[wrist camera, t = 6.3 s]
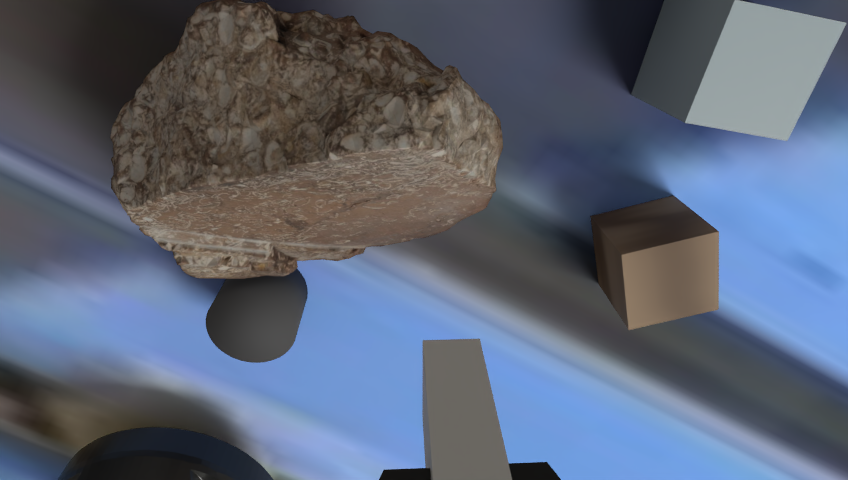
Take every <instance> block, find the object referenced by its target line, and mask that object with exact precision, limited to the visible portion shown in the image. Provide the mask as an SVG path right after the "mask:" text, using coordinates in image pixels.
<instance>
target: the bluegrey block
mask: <svg viewBox="0 0 848 480" xmlns="http://www.w3.org/2000/svg"><path fill="white" fill-rule="evenodd" d="M845 25H846V23H844V22H839V21H834V20H830V19H825V18H820V17H816V16H811V15H806V14H801V13H797V12H792V11H787V10H783V9H778V8H773V7H768V6H764V5H759V4H754V3H750V2H745V1H740V0H664V3H663V5H662V8H661V11H660V14H659V17H658V20H657V22H656V25H655V28H654V31H653V34H652V37H651V40H650V42H649V45H648V48H647V51H646V54H645V57H644V59H643V62H642V65H641V68H640V71H639V74H638V76H637V79H636V82H635V85H634V88H633V91H632V94H631V95H632V96H634V97H636V98H638V99H640V100H642V101H644V102H646V103H648V104H650V105H652V106H654V107H656V108H658V109H660V110H661V111H663V112H665V113H667V114H669V115H671V116H673V117H675V118H677V119H679V120H681V121H683V122H685V123H690V124H696V125H701V126H707V127H712V128H718V129H724V130H729V131H735V132H740V133H746V134H751V135H757V136H763V137H768V138H774V139H779V140H785V141H787V140H788V138H789V136H790V134H791V132H792V130H793V128H794V126H795V124H796V122H797V120H798V118H799V116H800V114H801V112H802V110H803V108H804V106H805V105H806V103H807V101H808V99H809V97H810V95H811V93H812V91H813V89H814V87H815V85H816V83H817V81H818V79H819V77H820V75H821V73H822V71H823V69H824V67H825V65H826V63H827V61H828V59H829V57H830V55H831V53H832V51H833V49H834V47H835V45H836V43H837V41H838V39H839V37H840V35H841V33H842V31H843V29H844V27H845Z"/></svg>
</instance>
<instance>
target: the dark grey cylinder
mask: <svg viewBox="0 0 848 480" xmlns="http://www.w3.org/2000/svg"><path fill="white" fill-rule="evenodd" d="M307 294H308V292H307V285H306V282H305V279H304V278H303V276H302V274H301V273H300V272H299V271H298V270H297V268H296V269H295V270H294V272H292V273H289V274H288V275H286V276H268V275H266V276H259V277H252V278H245V279H226V280H225V282H224V284H223V286H222V287H221V289H220V291H219V293H218V294H217V296H216V298H215V300H214V301H213V303H212V305H211V307H210V308H209V310H208V313H207V316H206V328H207V332H208V334H209V336H210V338H211V340H212V341H213V343H214V344H215V345H216V346H217V347H218V348H219V349H220V350H221V351H223V352H224V353H225V354H227V355H229V356H231V357H233V358H235V359H238V360H241V361H246V362H257V363H258V362H267V361H271V360H274V359H276V358H279V357H280V356H282V355H284V354H285V353H286V352H287V351H288V350H289V349H290V348H291V346H292V345H293V343H294V341H295V338H296V335H297V331H298V328H299V324H300V321H301V317H302V314H303V310H304V307H305V303H306V300H307Z"/></svg>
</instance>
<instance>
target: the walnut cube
mask: <svg viewBox="0 0 848 480" xmlns="http://www.w3.org/2000/svg"><path fill="white" fill-rule="evenodd" d="M590 217H591V225H592V233H593V241H594V250H595V258H596V266H597V274H598V282H599V285H600V287H601V288H602V290H603V291H604V293H605V294H606V296H607V297H608V299H609V301H610V302H611V304H612V305H613V307H614V308H615V310H616V311H617V313H618V314H619V316H620V317H621V319H622V321H623V322H624V324H625V325H626V327H627V328H628V330H631V329H635V328H640V327H644V326H648V325H653V324H657V323H661V322H666V321H670V320H675V319H679V318H683V317H688V316H692V315H696V314H701V313H705V312H709V311H714V310H718V291H719V231H717V230H716V229H715V228H714V227H712V226H711V225H710V224H709V223H707V222H706V221H705V220H704V219H702V218H701V217H700V216H699V215H697V214H696V213H695V212H694V211H692V210H691V209H690V208H689V207H687V206H686V205H685V204H684V203H682V202H681V201H680V200H679V199H677V198H676V197H675V196H674V195H673V196H669V197H665V198H661V199H657V200H653V201H649V202H645V203H641V204H637V205H633V206H629V207H625V208H621V209H617V210H613V211H609V212H605V213H601V214H597V215H593V216H590Z"/></svg>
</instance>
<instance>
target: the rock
mask: <svg viewBox="0 0 848 480" xmlns="http://www.w3.org/2000/svg"><path fill="white" fill-rule="evenodd" d="M111 140H112V142H113V147H114V148H113V152H114V156H113V157H112V159H111V161H112V163H113V166H114V175H113V177H112V179H111V188H112V190H113V191H114V193H115V194H116V196H117V197H118V199H119V201H120V203H121V205H122V207H123V209H124V210H125V211H126V212H127V215H129V216H130V219H131V221H132V222H133V223H135V224H136V225H138V226H140V229H139V230H140V231H142V232H143V233H144V234H145V235H147V236H151V237H152V238H153V239H154V240H155V241H156V242H157V243H158V244H159V245H160V246H161V248H163V249H165V250H168V251H172V252H173V254H174V258H175V259H176V262H177V265H180V266H181V268H182V270H183V271H184V272H185V273H186V274H188V275H190V276H193V277H196V278H221V279H245V278H252V277H259V276H266V275H268V276H286V275H288V274H289V273H292V272H294V270H295V269H296V268H297V267H298V266H297V261H305V260H320V259H325V260H334V261H339V260H343V259H349V258H351V257H353V256H355V255H358V254H362V253H363V252H364V250H365V248H366V247H370V246H384V245H390V244H395V243H400V242H406V241H410V240H411V239H413V238H426V237H429V236H432V235H435V234H438V233H441V232H443V231H446V230H448V229H450V228H451V227H452V226H454V225H455V224H456V223H458V222H459V221H461V220H463V219H465V218H466V217H469V216H471V215H473V214H475V213H477V212H479V211H481V210H483V209H485V208H486V207H487V205H488V203H489V201H490V199H491V197H492V193H494V192H495V191H496V183H495V175H496V168H497V162H498V159H499V157H500V154H501V151H502V149H503V142H502V131H501V123H500V119H499V118H498V117H497V116H496V114H495V113H494V112H493V110H492V109H491V107H490V106H489V104H487V103H486V102H484V101H483V100H482V99H480V97H479V96H478V94H477V93H476V91H475V90H474V89H473V88H472V87H471V86H469V85H468V84H467V83H466V82H465V81H464V80H463V79H462V77H461V75H460V73H459V71H458V70H457V68H455V67H453V66H450V65H449V66H447V67H446V68H445V70H444V71H443V70H441V69H440V68H438V67H436V66H434V65H433V64H432V63H431V62H430V61H429V60H428V59H427V58H426V57H425V56H424V55H423V53H422V52H421V51H420V50H419V49H418V48H417V47H415V46H413V45H412V44H410V43H408V42H406V41H403V40H401V39H399V38H397V37H396V36H394V35H393V34H391V33H387V32H380V31H377V32H375V33H374V34H372V33H370V32H368V31H366V30H364V29H362V28H361V26H360V25H359V23H358V22H357V21H356V19H355V18H354V16H346V17H343V18H337V19H334V18H333V17H332V16H330V15H329V14H325V15H322V14H320V13H318V12H316V11H314V10H311V11H305V12H299V13H294V14H291V13H287V12H283V11H276V10H275V9H273V8H272V7H270V6H269V5H268V4H267V3H265V2H261V1H260V2H257V3H245V2H243V1H241V0H215V1H210V2H205V3H201V4H200V5H199V6H197V7H196V10H195V12H194V14H193V15H192V16H190V17H188V18H187V23H186V27H185V31H184V33H183V35H182V37H181V39H180V41H179V45H178V47H177V49H176V50H175V52H170V53H169V54H167V55H165V56H164V57H163V60H162V61H161V62H160V63H159V64H158V65H157V66H155V67H154V68H153V69H152V70H151V71H150V72H149V74H148V75H147V76H146V77H145V79H144V82H143V84H141V85H140V87H139V88H138V89H137V91H136V94H135V96H134V99H132V100H130V101H129V102H126V103H125V105H124V106H123V107H122V109H121V110H120V112H119V115H118V117H117V119H116V121H115V122H114V124H113V127H112V132H111Z"/></svg>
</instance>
